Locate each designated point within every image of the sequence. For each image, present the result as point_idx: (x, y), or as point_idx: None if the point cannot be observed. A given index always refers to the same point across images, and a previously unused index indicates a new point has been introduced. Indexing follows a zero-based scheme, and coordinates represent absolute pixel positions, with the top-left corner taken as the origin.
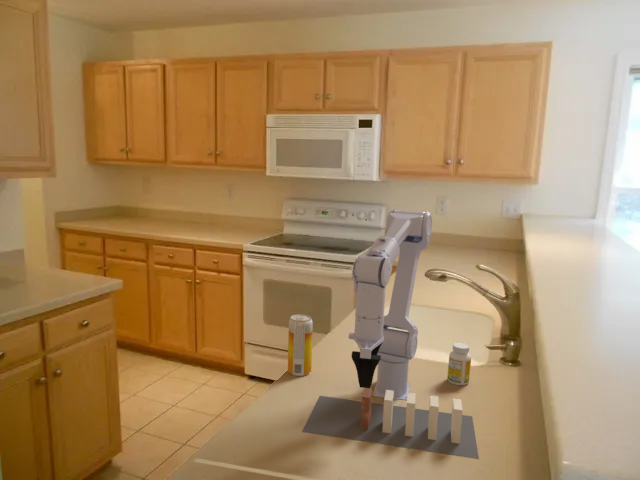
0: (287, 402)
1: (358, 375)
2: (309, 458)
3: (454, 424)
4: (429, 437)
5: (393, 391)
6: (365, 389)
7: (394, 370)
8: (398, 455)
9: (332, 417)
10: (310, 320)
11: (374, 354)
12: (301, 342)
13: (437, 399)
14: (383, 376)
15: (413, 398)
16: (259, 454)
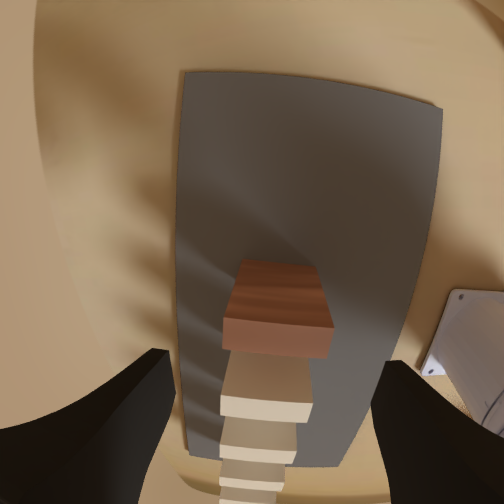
0: (380, 8)
1: (100, 388)
2: (83, 132)
3: None
4: None
5: (300, 421)
6: (306, 332)
7: (474, 397)
8: (155, 346)
9: (300, 157)
10: None
11: (397, 491)
12: None
13: (262, 489)
14: (482, 348)
15: (255, 458)
16: (87, 20)
